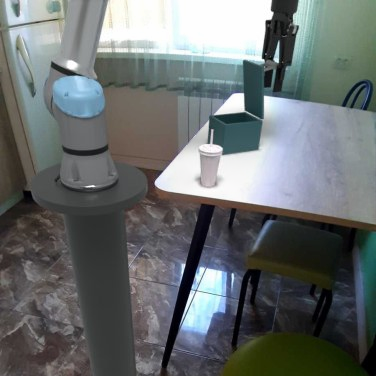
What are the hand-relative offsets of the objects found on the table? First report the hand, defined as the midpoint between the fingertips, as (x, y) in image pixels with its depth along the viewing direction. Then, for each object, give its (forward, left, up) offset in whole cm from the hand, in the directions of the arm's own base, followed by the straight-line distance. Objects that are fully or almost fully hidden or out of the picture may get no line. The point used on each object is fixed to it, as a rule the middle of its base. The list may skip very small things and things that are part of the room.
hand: (271, 89), depth 130 cm
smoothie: (-34, -24, -16) cm, 45 cm away
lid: (-7, 0, 0) cm, 7 cm away
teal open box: (-12, 0, -16) cm, 20 cm away
